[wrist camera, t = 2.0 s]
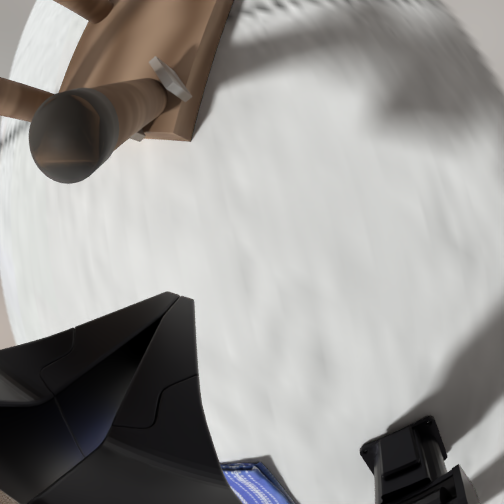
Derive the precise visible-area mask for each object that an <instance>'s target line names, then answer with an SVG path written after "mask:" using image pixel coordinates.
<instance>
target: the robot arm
mask: <svg viewBox="0 0 504 504" xmlns="http://www.w3.org/2000/svg"><path fill="white" fill-rule="evenodd" d="M428 421H430V422H429V423H427V422H428ZM365 450H367V451H365ZM360 455H361V456H362V458H363V459H364V461H365V462H366V464H367V466H368V467H369V469H370V470H371V472H372V473H373V475H374V477H375V504H480V502H479V499H478V496H477V494H476V491H475V488H474V486H473V484H472V483H471V481H470V480H469V478H468V477H467V475H466V474H465V472H464V471H463V469H462V468H461V466H460V465H459V464H458V465H456V466H455V467H453V468H452V470H450V471H449V472H447V470H446V466H445V463H444V460H446V458H447V454H446V451H445V448H444V445H443V442H442V439H441V436H440V433H439V430H438V428H437V425H436V422H435V420H434V417H433V416H427V417H425V418H423V419H421V420H419V421H417V422H416V423H414V424H412V425H410V426H408V427H405V428H403V429H401V430H399V431H397V432H395V433H393V434H390V435H388V436H386V437H384V438H381V439H379V440H377V441H374V442H372V443H369V444H367V445H364V446H362V447H361V448H360ZM0 504H243V503H242V502H241V500H240V499H239V498H238V496H237V495H236V494H235V493H234V491H233V490H232V489H231V487H230V485H229V483H228V481H227V479H226V477H225V475H224V473H223V470H222V468H221V465H220V463H219V460H218V457H217V454H216V451H215V448H214V445H213V441H212V438H211V435H210V432H209V429H208V425H207V422H206V418H205V414H204V410H203V406H202V400H201V393H200V384H199V373H198V359H197V344H196V327H195V306H194V300H193V299H191V298H188V297H184V296H179V295H178V294H175V293H171V292H164V293H161V294H159V295H156V296H154V297H151V298H148V299H146V300H143V301H141V302H138V303H136V304H133V305H130V306H128V307H125V308H123V309H120V310H118V311H115V312H112V313H110V314H107V315H105V316H102V317H99V318H97V319H94V320H92V321H89V322H87V323H84V324H81V325H79V326H76V327H75V328H71V329H68V330H65V331H63V332H60V333H57V334H54V335H51V336H49V337H46V338H42V339H39V340H36V341H32V342H29V343H25V344H21V345H17V346H14V347H10V348H6V349H2V350H0Z"/></svg>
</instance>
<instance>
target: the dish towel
mask: <svg viewBox="0 0 504 504" xmlns="http://www.w3.org/2000/svg"><path fill="white" fill-rule="evenodd" d="M221 468H222V470H223V473H224V475H225V477H226V479H227V481H228V483H229V485H230V487H231V489H232V490H233V491H234V493H235V494H236V495H237V496H238V498H239V499H240V500H241V502H242V503H243V504H295V502H294V501H293V500H292V498H291V497H290V496H289V495H288V494H287V492H286V491H285V490H284V489H283V488H282V486H281V485H280V484H279V482H278V481H277V480H276V479H275V477H274V476H273V475H272V474H271V473H270V471H269V470H268V469H267V468H266V467H265V466H264V465H263V463H262V462H258V463H257V464H252V463H236V464H225V465H221Z"/></svg>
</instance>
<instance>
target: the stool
mask: <svg viewBox="0 0 504 504" xmlns="http://www.w3.org/2000/svg"><path fill="white" fill-rule="evenodd" d="M54 1H55V2H57V3H59V4H61V5H63V6H64V7H66V8H68V9H70V10H71V11H73V12H75V13H77V14H78V15H80V16H82V17H83V18H85V19H86V20H88V21H89V22H88V24H87V26H86V28H85V30H84V32H83V34H82V36H81V38H80V40H79V43H78V45H77V47H76V49H75V52H74V54H73V56H72V59H71V61H70V63H69V66H68V69H67V71H66V74H65V76H64V79H63V82H62V85H61V88H60V90H59V93H60V92H64V91H68V90H72V89H77V88H92V87H97V86H102V85H107V84H112V83H118V82H123V81H130V80H136V79H143V78H152V79H156V80H158V81H160V82H161V83H162V84H163V85H164V87H165V88H166V90H167V93H168V102H167V106H166V108H165V109H164V111H163V112H162V113H161V114H160V115H159V116H158V117H156V118H155V119H154V120H152V121H151V122H150V123H148V124H147V125H146V126H144V127H143V128H142V129H140V130H139V131H138V132H136V133H135V134H134V135H133V136H131V137H130V138H131V139H133V140H136V141H139V142H140V141H141V140H142V139H162V140H177V141H189V142H191V138H192V134H193V130H194V126H195V122H196V118H197V114H198V111H199V107H200V103H201V99H202V96H203V92H204V89H205V85H206V82H207V78H208V75H209V72H210V68H211V65H212V62H213V59H214V56H215V53H216V49H217V46H218V43H219V40H220V37H221V34H222V32H223V29H224V26H225V23H226V20H227V17H228V15H229V12H230V9H231V6H232V4H233V1H234V0H54ZM53 95H54V94H52V93H50V92H47V91H44V90H40V89H37V88H34V87H31V86H28V85H25V84H22V83H18V82H15V81H12V80H8V79H5V78H1V77H0V116H5V117H10V118H15V119H19V120H24V121H28V122H31V121H32V118H33V116H34V114H35V112H36V111H37V109H38V108H39V106H40V105H41V104H42V103H43V102H44V101H45V100H46V99H48V98H49V97H51V96H53Z"/></svg>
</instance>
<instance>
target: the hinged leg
mask: <svg viewBox="0 0 504 504" xmlns="http://www.w3.org/2000/svg"><path fill="white" fill-rule="evenodd" d="M167 102H168V93H167V90H166V88H165V87H164V85H163V84H162V83H161V82H160V81H158V80H156V79H152V78H143V79H136V80H130V81H123V82H118V83H112V84H107V85H102V86H97V87H92V88H77V89H72V90H68V91H64V92H60V93H57V94H54V95H53V96H51V97H49V98H48V99H46V100H45V101H44V102H43V103H42V104H41V105H40V106H39V108H38V109H37V111H36V112H35V114H34V116H33V118H32V121H31V125H30V129H29V146H30V151H31V154H32V157H33V159H34V161H35V163H36V165H37V166H38V168H39V169H40V170H41V171H42V172H43V173H44V174H45V175H46V176H47V177H49V178H50V179H52V180H54V181H57V182H60V183H67V184H69V183H76V182H80V181H82V180H84V179H86V178H87V177H89V176H90V175H91V174H92V173H93V172H94V171H96V170H97V169H98V168H99V167H100V166H101V165H102V164H103V163H104V162H105V161H106V160H107V159H108V158H109V157H110V156H111V154H112V152H113V151H114V150H115V149H117V148H118V147H119V146H120V145H121V144H123V143H124V142H125V141H126V140H128V139H129V138H130V137H131V136H133V135H134V134H135V133H136V132H138V131H139V130H140V129H142V128H143V127H144V126H146V125H147V124H148V123H150V122H151V121H152V120H154V119H155V118H156V117H158V116H159V115H160V114H161V113H162V112H163V111H164V109H165V108H166V106H167Z"/></svg>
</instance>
